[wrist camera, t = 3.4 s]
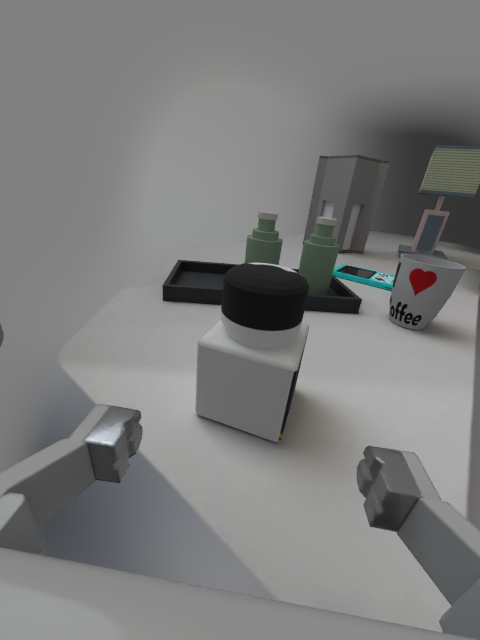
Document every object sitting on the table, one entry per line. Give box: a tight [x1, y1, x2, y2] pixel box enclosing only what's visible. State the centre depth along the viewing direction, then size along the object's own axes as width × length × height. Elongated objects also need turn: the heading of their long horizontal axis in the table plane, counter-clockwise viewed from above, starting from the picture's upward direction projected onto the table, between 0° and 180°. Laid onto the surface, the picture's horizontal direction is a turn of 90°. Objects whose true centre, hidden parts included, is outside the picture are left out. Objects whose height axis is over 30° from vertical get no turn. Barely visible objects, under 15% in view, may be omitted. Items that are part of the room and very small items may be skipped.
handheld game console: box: [332, 264, 395, 291], centre depth 64 cm, size 10×16×1 cm, turn 54°
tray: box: [163, 260, 362, 314], centre depth 50 cm, size 32×16×2 cm, turn 93°
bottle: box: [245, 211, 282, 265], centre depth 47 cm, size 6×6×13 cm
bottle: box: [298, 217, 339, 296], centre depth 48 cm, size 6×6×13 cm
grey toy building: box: [303, 155, 389, 253], centre depth 88 cm, size 21×10×28 cm, turn 73°
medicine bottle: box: [196, 263, 309, 443], centre depth 22 cm, size 7×7×12 cm
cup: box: [390, 254, 466, 330], centre depth 41 cm, size 8×8×10 cm
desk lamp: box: [398, 145, 480, 260], centre depth 90 cm, size 18×14×33 cm
